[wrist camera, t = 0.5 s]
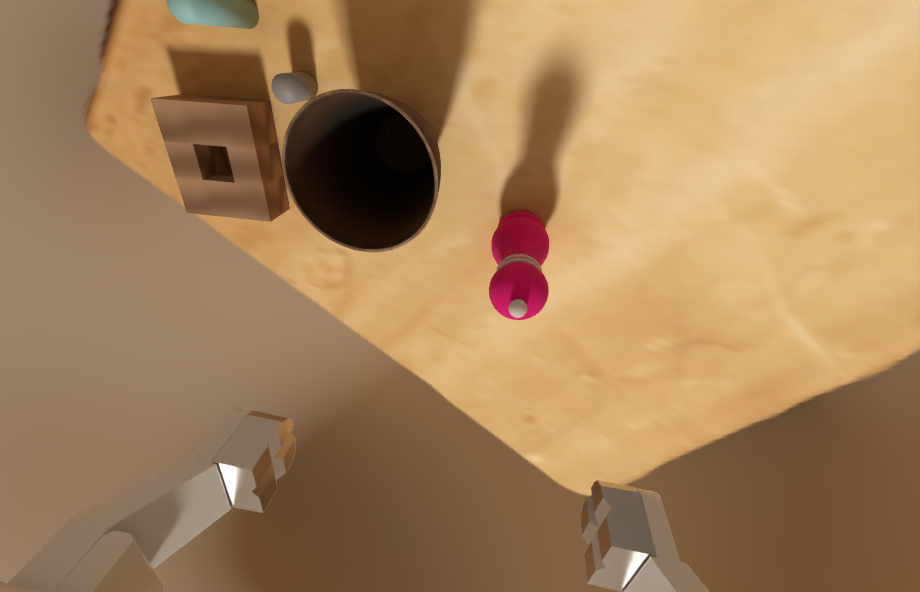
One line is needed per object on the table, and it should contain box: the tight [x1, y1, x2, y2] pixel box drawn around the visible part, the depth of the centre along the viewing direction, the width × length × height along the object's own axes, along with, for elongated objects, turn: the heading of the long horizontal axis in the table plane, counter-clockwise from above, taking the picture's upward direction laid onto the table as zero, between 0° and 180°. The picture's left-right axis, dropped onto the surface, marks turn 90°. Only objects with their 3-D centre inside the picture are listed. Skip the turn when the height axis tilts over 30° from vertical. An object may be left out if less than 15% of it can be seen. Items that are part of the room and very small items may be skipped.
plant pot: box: [282, 89, 441, 252], centre depth 44 cm, size 15×15×16 cm
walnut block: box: [150, 95, 289, 221], centre depth 52 cm, size 14×12×5 cm
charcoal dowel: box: [272, 72, 318, 104], centre depth 47 cm, size 3×3×5 cm
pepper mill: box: [489, 210, 549, 320], centre depth 46 cm, size 7×7×20 cm
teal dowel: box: [166, 0, 259, 29], centre depth 41 cm, size 3×3×10 cm
